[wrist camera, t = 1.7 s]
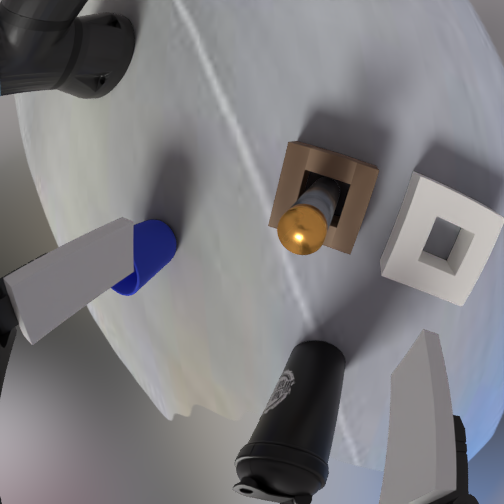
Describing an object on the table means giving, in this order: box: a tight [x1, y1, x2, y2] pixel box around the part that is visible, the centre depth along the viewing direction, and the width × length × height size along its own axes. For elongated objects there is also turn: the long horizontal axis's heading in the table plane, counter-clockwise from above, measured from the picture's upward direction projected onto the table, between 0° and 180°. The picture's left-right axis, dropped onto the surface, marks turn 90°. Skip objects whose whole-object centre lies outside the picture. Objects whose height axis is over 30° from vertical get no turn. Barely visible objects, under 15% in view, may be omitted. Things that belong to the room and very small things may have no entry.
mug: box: [111, 220, 176, 296], centre depth 38 cm, size 8×12×10 cm
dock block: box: [380, 171, 504, 307], centre depth 25 cm, size 11×11×4 cm
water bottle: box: [233, 341, 345, 504], centre depth 30 cm, size 10×10×23 cm
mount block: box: [268, 141, 379, 254], centre depth 29 cm, size 9×9×4 cm
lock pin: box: [277, 177, 340, 255], centre depth 24 cm, size 3×3×14 cm
